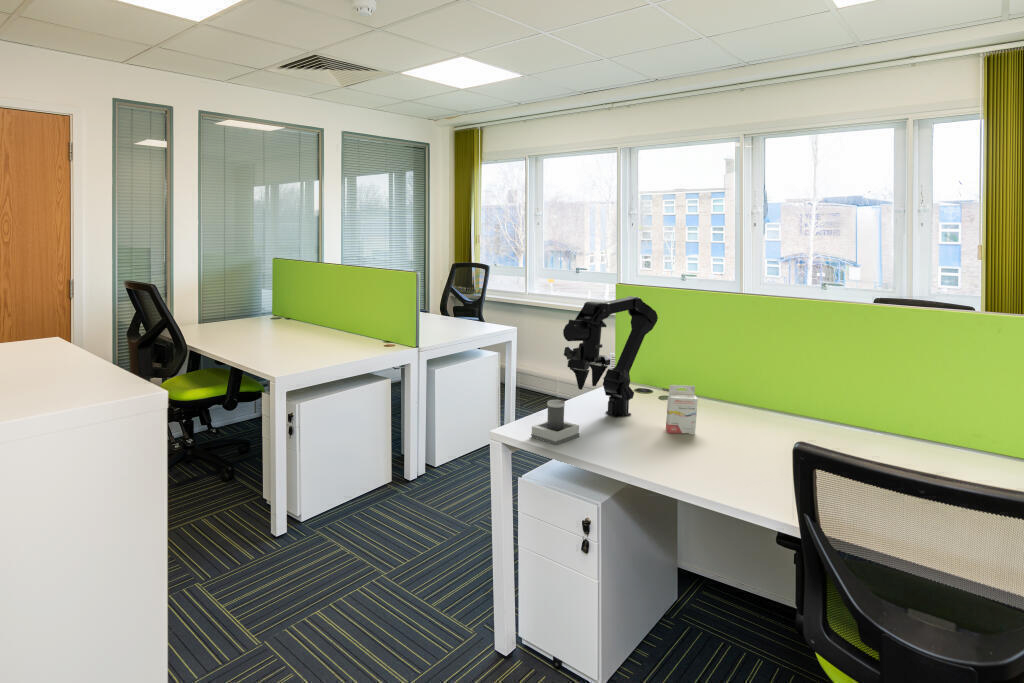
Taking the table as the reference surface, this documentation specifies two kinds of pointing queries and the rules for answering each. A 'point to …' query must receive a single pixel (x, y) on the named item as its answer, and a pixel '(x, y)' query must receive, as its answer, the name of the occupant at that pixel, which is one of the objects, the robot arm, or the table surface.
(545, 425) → the white open box
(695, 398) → the ink cartridge box
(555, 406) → the gray cylindrical canister
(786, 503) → the table surface
